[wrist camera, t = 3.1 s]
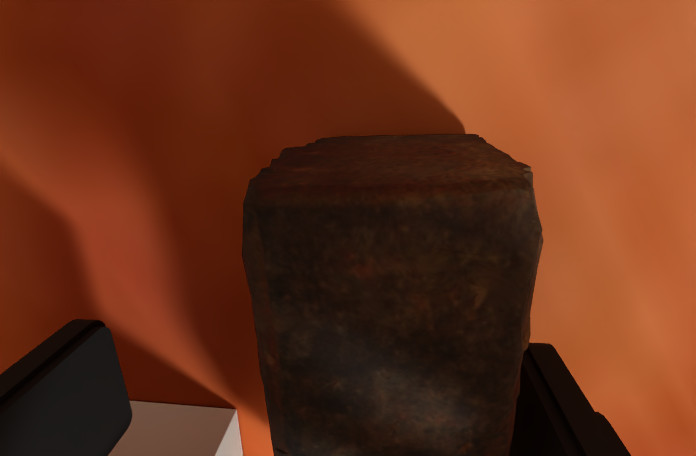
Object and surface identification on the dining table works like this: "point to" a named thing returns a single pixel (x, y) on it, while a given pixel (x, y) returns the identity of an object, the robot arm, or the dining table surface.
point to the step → (180, 431)
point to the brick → (392, 294)
